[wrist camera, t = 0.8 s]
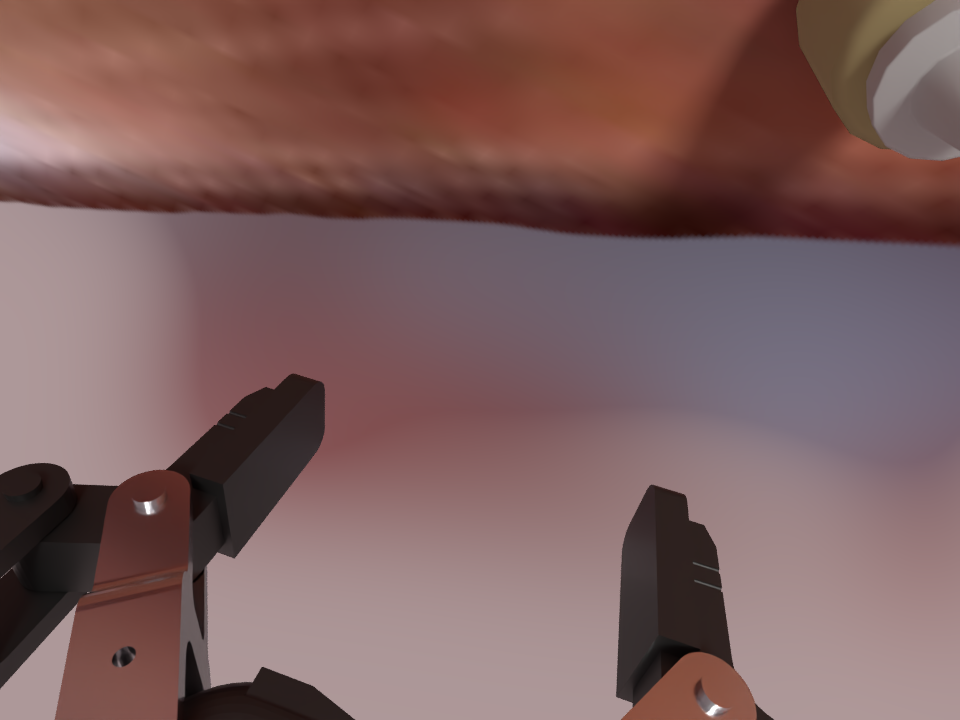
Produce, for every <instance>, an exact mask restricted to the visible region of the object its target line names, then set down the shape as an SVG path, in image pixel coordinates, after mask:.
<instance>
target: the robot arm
mask: <svg viewBox="0 0 960 720" xmlns="http://www.w3.org/2000/svg"><path fill="white" fill-rule="evenodd" d="M324 429H325V389H324V384H323V383H322V382H320V381H316V380H313V379H310V378H307V377H303V376H300V375H297V374H291V375H289V376H288V377H287V378H286V379H284V381H282V382H281V384H279V385H278V386H277V387H276V388H275V389H274V390H273V389H270V388H267V387H265V388H263V389H261V390H259V391H256V392H254V393H252V394H250V395H248V396H246V397H244V398H243V399H242V400H241V401H240V402H239V403H238V404H237V405H236V406H234V408H232V409H231V410H230V413H229V414H226V415H225V416H224V417H223V418H222V419H221V420H219V421H218V423H217V425H214V426H213V427H212V428H211V429H210V430H209V431H208V432H207V433H205V434H204V435H203V436H202V437H201V438H200V439H199V440H198V441H197V442H196V443H195V444H194V445H193V446H191V447H190V448H189V449H188V450H187V451H186V452H185V453H184V454H183V455H182V456H181V457H180V458H179V459H177V460H176V461H175V462H174V463H173V464H172V465H171V466H170V467H169V468H167V469H166V470H153V471H148V472H144V473H141V474H138V475H136V476H133V477H131V478H129V479H128V480H126V481H124V482H123V483H122V484H120V485H119V486H103V485H78V484H76V485H75V484H72V481H71V479H70V476H69V474H68V472H67V471H66V470H65V469H64V468H62V467H60V466H58V465H55V464H49V463H37V464H36V463H35V464H29V465H25V466H21V467H17V468H14V469H12V470H9V471H7V472H5V473H3V474H1V475H0V578H1V577H2V576H3V575H4V574H5V573H6V572H7V573H6V574H5V575H4V576H3V577H2V578H1V579H0V688H1V687H2V686H3V685H4V684H5V683H6V682H7V681H8V679H9V678H10V677H11V676H12V675H13V674H14V673H15V672H16V671H17V670H18V668H19V667H20V666H21V665H22V664H23V663H24V662H25V661H26V660H27V658H28V657H29V656H30V655H31V654H32V653H33V652H34V651H35V650H36V648H37V647H38V646H39V645H40V644H41V643H42V642H43V641H44V640H45V639H46V637H47V636H48V635H49V634H50V633H51V632H52V631H53V630H54V629H55V627H56V626H57V625H58V624H59V623H60V622H61V621H62V620H63V619H64V617H65V616H66V615H67V614H68V613H69V612H70V611H71V610H72V609H73V608H74V606H75V605H76V604H77V603H78V604H77V608H76V612H75V617H74V622H73V627H72V633H71V638H70V643H69V649H68V653H67V659H66V664H65V670H64V674H63V680H62V685H61V690H60V695H59V701H58V706H57V711H56V716H55V720H355V719H353V718H352V717H351V716H350V715H348V714H347V713H346V712H345V711H343V710H342V709H341V708H340V707H338V706H337V705H336V704H335V703H333V702H332V701H331V700H330V699H328V698H327V697H326V696H325V695H323V694H322V693H321V692H320V691H318V690H317V689H316V688H315V687H313V686H311V685H309V684H306V683H304V682H301V681H298V680H296V679H293V678H290V677H288V676H285V675H283V674H280V673H277V672H275V671H272V670H270V669H267V668H264V667H262V668H261V669H260V671H259V673H258V675H257V676H256V678H255V680H254V681H253V682H242V683H230V684H226V685H220V686H216V687H213V688H211V679H210V668H209V660H208V616H207V615H208V612H207V611H208V609H207V608H208V605H207V564H208V563H209V562H210V560H211V559H212V558H213V557H214V556H215V555H216V553H217V552H218V553H221V554H224V555H227V556H229V557H232V558H235V557H236V556H237V554H238V553H239V552H240V551H241V549H242V548H243V547H244V546H245V544H246V543H247V542H248V540H249V539H250V538H251V536H252V535H253V534H254V533H255V531H256V530H257V529H258V527H259V526H260V525H261V523H262V522H263V521H264V520H265V518H266V517H267V516H268V514H269V513H270V512H271V510H272V509H273V508H274V506H275V505H276V504H277V502H278V501H279V500H280V499H281V497H282V496H283V495H284V494H285V492H286V491H287V490H288V488H289V487H290V485H291V484H292V483H293V482H294V481H295V479H296V478H297V477H298V475H299V474H300V473H301V471H302V470H303V469H304V468H305V466H306V465H307V464H308V462H309V461H310V460H311V458H312V457H313V456H314V454H315V453H316V452H317V450H318V448H319V446H320V444H321V441H322V439H323V435H324ZM687 506H688V505H687V498H686V496H685V495H684V494H681V493H678V492H675V491H671V490H668V489H665V488H662V487H658V486H655V485H650V486H649V488H648V489H647V491H646V493H645V495H644V497H643V499H642V501H641V503H640V505H639V507H638V509H637V511H636V513H635V515H634V517H633V518H632V521H631V522H630V524H629V527H628V529H627V532H626V535H625V538H624V543H623V548H622V564H621V590H620V615H619V640H618V665H617V691H616V697H618V698H621V699H623V700H627V701H629V702H632V703H633V708H632V709H631V710H630V711H629V712H628V713H627V714H626V715H625V716H624V717H623V718H622V719H621V720H774V719H772V718H771V717H770V716H769V715H767V714H766V713H765V712H764V711H763V710H761V709H760V708H759V707H758V706H757V705H756V704H755V702H754V699H753V696H752V694H751V692H750V690H749V688H748V686H747V685H746V683H745V681H744V680H743V679H742V677H741V676H740V675H739V674H738V673H737V672H736V671H735V669H734V666H733V662H732V656H731V649H730V642H729V634H728V627H727V620H726V614H725V606H724V599H723V593H722V592H721V588H722V585H721V578H720V574H719V563H718V557H717V549H716V546H715V544H714V542H713V541H712V539H711V537H710V535H709V533H708V532H707V530H706V528H705V526H704V525H702V524H698V523H696V522H692V521H689V518H688V517H689V516H688V507H687ZM11 568H12V569H11ZM10 569H11V570H10ZM9 570H10V571H9ZM87 592H89V593H87Z"/></svg>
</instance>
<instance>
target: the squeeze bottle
mask: <svg viewBox="0 0 960 720" xmlns="http://www.w3.org/2000/svg"><path fill="white" fill-rule="evenodd" d="M796 16H797V27H798V39H799V46H800V48H801V50H802V52H803V54H804V55H805V57H806V59H807V61H808V63H809V65H810V66H811V68H812V70H813V72H814V74H815V76H816V78H817V79H818V81H819V83H820V85H821V87H822V89H823V90H824V92H825V94H826V96H827V98H828V100H829V101H830V103H831V105H832V107H833V109H834V110H835V112H836V113H837V115H838V116H839V118H840V119H841V121H842V122H843V124H844V125H845V127H846V128H847V130H848V131H849V133H850V134H852V135H854V136H856V137H858V138H860V139H862V140H864V141H866V142H868V143H870V144H872V145H874V146H876V147H878V148H880V149H892V150H894V151H896V152H898V153H900V154H902V155H904V156H906V157H908V158H912V159H926V160H940V161H943V160H948V159H952V158H957V157H960V0H799V1H798V4H797V8H796Z"/></svg>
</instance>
